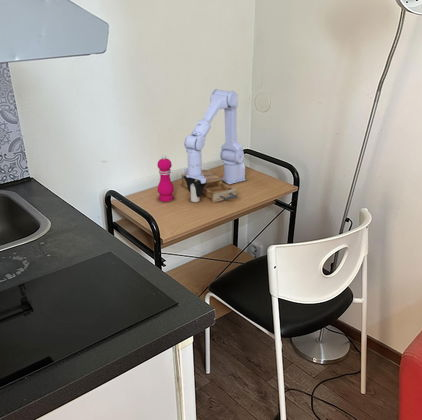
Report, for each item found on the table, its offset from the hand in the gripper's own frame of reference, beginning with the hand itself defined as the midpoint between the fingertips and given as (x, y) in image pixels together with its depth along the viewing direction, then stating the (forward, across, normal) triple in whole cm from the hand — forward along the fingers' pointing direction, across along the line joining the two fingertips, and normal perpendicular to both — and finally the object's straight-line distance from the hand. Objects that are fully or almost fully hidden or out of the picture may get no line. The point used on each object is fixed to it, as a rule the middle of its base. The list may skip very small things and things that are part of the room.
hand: (195, 193), depth 190 cm
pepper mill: (+3, -8, -10) cm, 13 cm away
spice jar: (+3, 0, 0) cm, 3 cm away
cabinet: (+3, -11, +10) cm, 15 cm away
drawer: (+2, +4, +10) cm, 11 cm away
